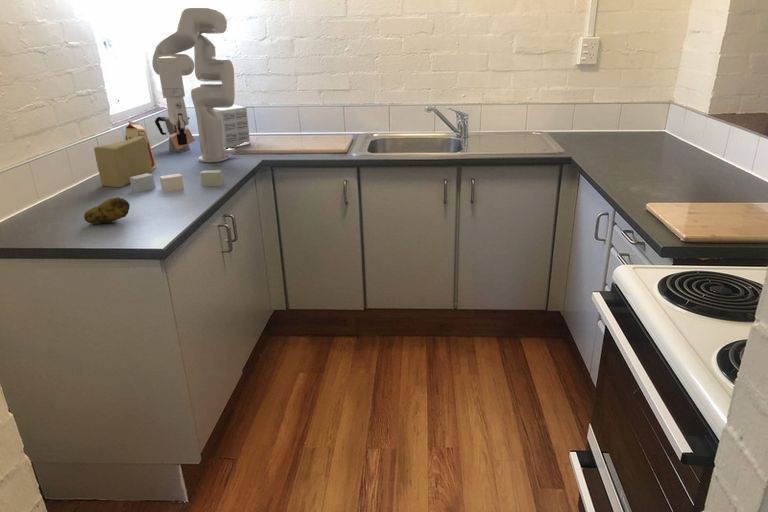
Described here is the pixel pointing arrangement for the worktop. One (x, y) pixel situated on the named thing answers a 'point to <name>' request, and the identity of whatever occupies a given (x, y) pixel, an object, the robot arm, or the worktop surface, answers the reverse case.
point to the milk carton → (136, 131)
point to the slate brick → (142, 182)
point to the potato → (107, 211)
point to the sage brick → (211, 178)
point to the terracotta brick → (188, 136)
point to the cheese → (122, 161)
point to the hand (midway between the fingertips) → (181, 142)
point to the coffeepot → (171, 131)
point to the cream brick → (171, 182)
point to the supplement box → (233, 125)
